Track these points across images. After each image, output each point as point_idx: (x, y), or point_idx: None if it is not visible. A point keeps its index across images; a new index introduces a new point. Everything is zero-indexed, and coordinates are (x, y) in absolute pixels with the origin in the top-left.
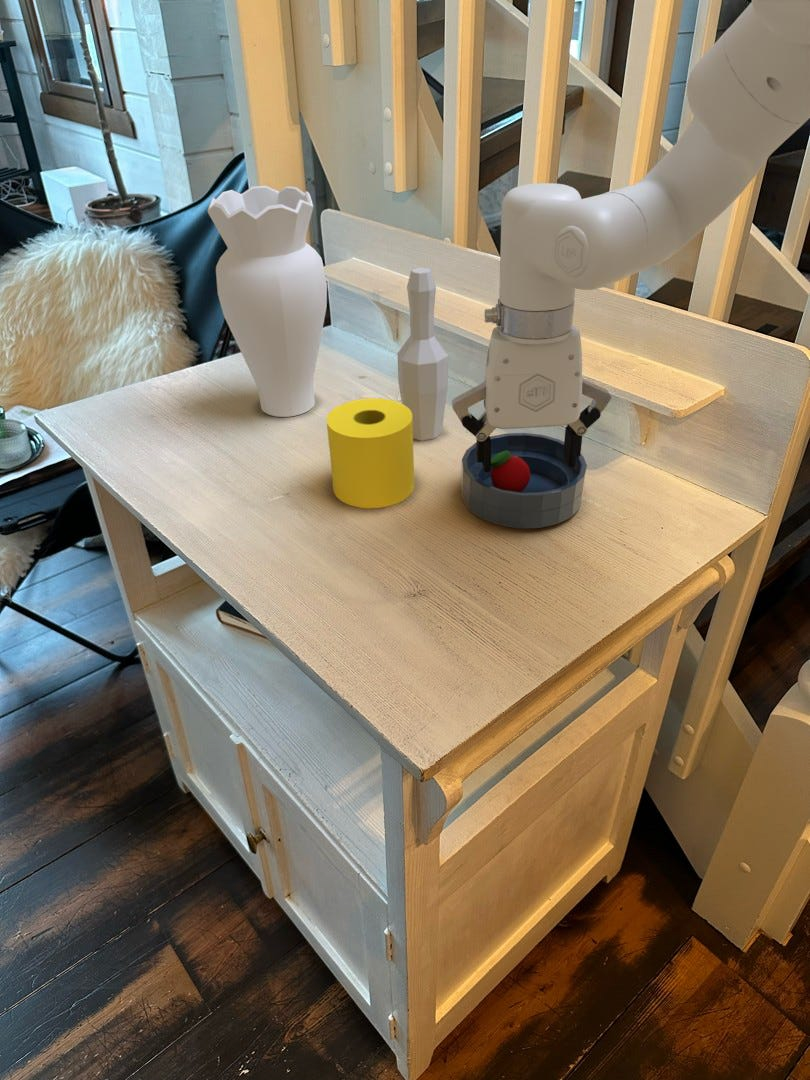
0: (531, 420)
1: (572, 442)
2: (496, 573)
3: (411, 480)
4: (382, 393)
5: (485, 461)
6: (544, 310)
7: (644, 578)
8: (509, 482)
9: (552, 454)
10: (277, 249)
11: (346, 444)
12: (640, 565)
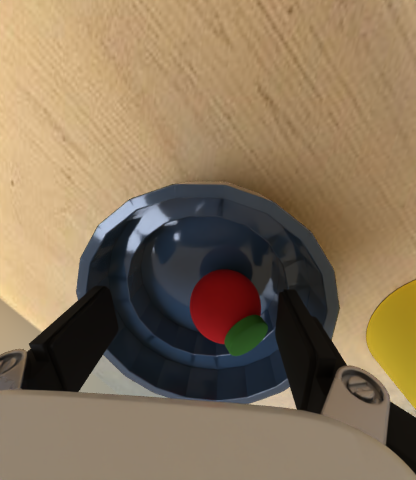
0: (143, 450)
1: (60, 331)
2: (290, 46)
3: (396, 321)
4: None
5: (304, 307)
6: None
7: (31, 29)
8: (232, 277)
9: (146, 350)
10: None
11: None
12: (38, 74)
